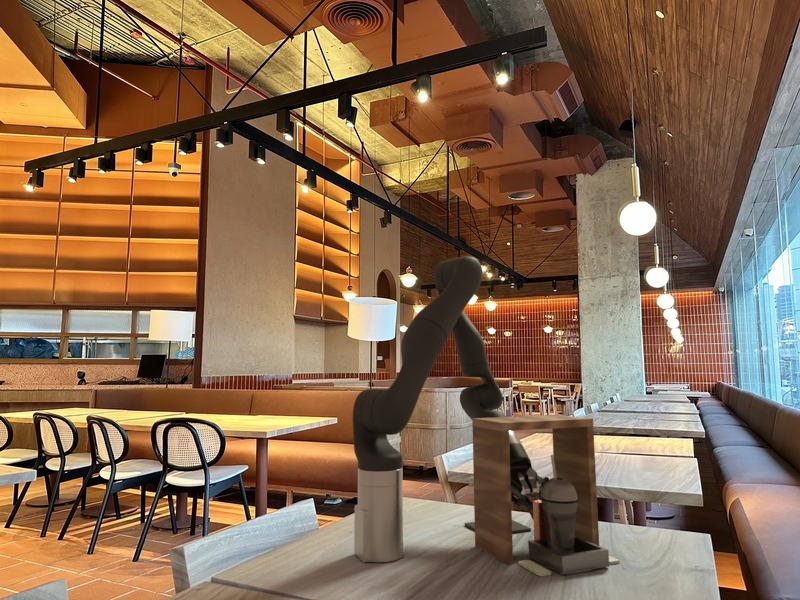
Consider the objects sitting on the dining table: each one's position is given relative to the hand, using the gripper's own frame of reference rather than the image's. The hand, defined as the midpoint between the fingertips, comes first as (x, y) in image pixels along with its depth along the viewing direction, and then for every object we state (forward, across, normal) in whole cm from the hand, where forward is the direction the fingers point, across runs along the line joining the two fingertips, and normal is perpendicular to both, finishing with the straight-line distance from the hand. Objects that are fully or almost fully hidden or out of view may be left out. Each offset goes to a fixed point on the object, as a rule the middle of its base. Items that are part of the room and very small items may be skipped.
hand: (541, 520), depth 115 cm
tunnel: (+3, 0, +6) cm, 6 cm away
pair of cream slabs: (+10, 0, -2) cm, 10 cm away
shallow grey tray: (+9, 0, -1) cm, 9 cm away
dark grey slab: (-8, 0, +17) cm, 19 cm away
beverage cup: (+8, 0, 0) cm, 8 cm away
